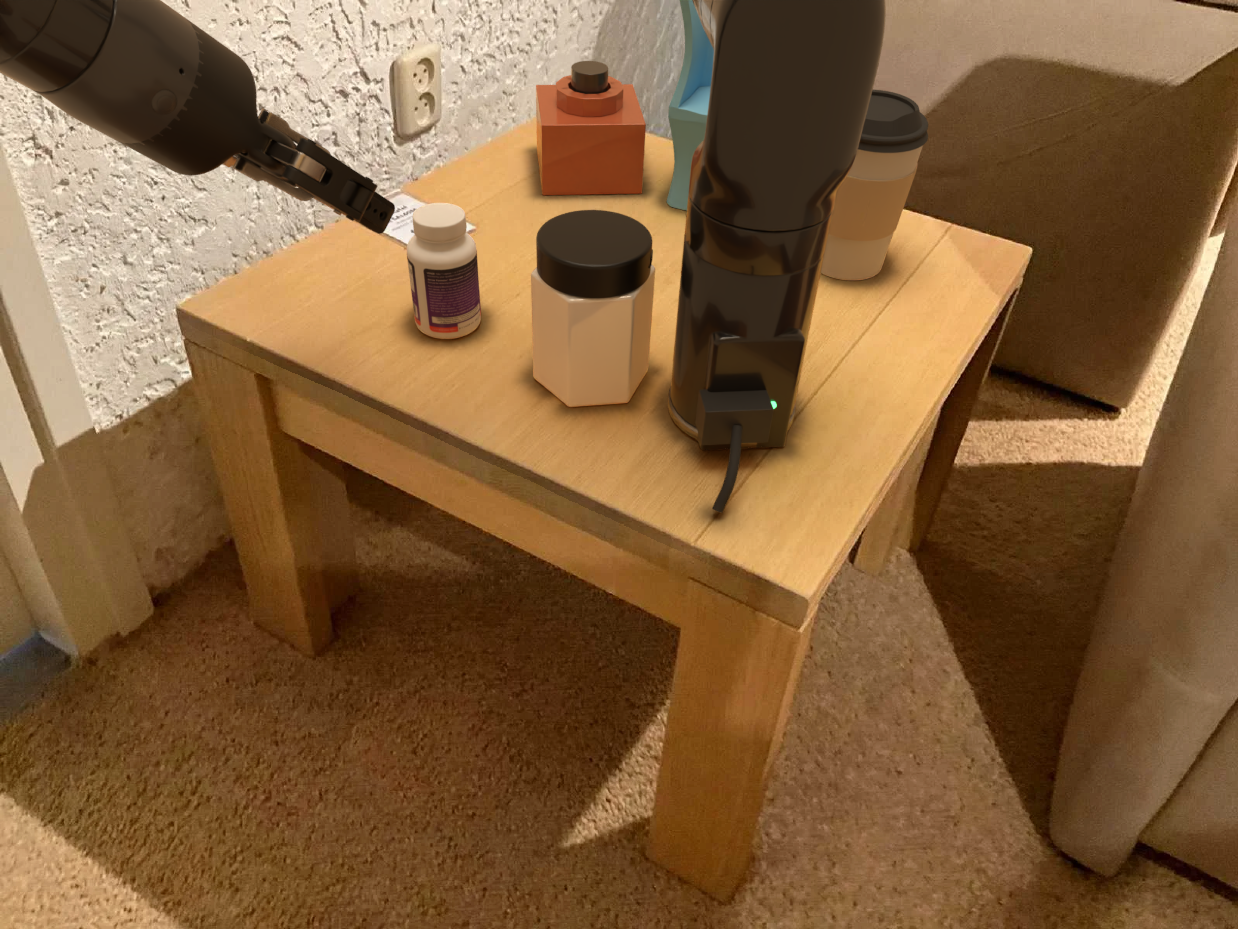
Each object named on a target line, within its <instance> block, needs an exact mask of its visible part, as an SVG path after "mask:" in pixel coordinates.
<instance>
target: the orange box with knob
mask: <svg viewBox="0 0 1238 929" xmlns="http://www.w3.org/2000/svg"><path fill="white" fill-rule="evenodd" d="M639 102H640V101H639V99H638V96H637V93H636V90H635V87H634V84H632V83H630V84H628V83H627V84H624V83H622V81H620V80H618V79H616V78H614V77H613V76H610V75H608V91H607V92H604V93H599V94H583V93H578V92H575V91H573V90H571V74H569V75H566V76H565V75H564V76H562V77H561V78H560V79H558V80H557V81H556V82H555V84H536V85H535V106H536V108H535V112H536V113H535V114H536V115H535V117H536V118H535V119H536V120H535V122H536V124H535V125H536V155H537V161H538V162H537V164H538V169H539V170H538V171H539V178H540V186H541V193H542V196H572V195H573V196H576V195H577V196H578V195H627V194H629V195H631V194H632V195H634V194H637V195H638V194H642V193H643V182H644V165H645V164H644V163H645V147H646V146H645V145H646V130H647V123H646V121H645V118H644V115H643V111H642V108H641V105H640V103H639Z"/></svg>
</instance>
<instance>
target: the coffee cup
mask: <svg viewBox="0 0 1238 929" xmlns="http://www.w3.org/2000/svg"><path fill="white" fill-rule="evenodd" d="M928 129H929V121H928V120H927V118H926V116H925V115H924V114H923V113H922V112H921V111H920V107H919V104H918V103H917V102H916V101H914V100H913V99H912V98H910V97H907V95H906V96H905V95H903V94H900V93H898V92H893V91H888V90H883V89H873V90H872V94H871V98H870V102H869V106H868V110H867V114H866V118H865V122H864V126H863V130H862V134H861V138H860V143H859V147H858V150H857V154H856V157H855V160H854V163H853V165H852V168H851V170H850V172H849V173H848V175H847V177H846V178H845V180H844V181H843V183H842V184H841V185H840V187H839V189H838V192H837V196H836V201H835V206H834V209H833V215H832V220H831V225H830V230H829V235H828V240H827V245H826V250H825V254H824V259H823V264H822V269H821V275H824V276H827V277H830V278H833V279H837V280H843V281H863V280H867V279H871V278H873V277H875V276H877V275H878V274H879V273H881V271H882V268H883V265H884V263H885V259H886V256H887V254H888V251H889V248H890V245H891V242H892V240H893V236H894V234H895V231H897V228H898V225H899V223H900V219H901V217H902V215H903V214H902V213H903V210H904V208H905V204H906V202H907V200H908V196H909V194H910V191H911V187H912V185H913V181H914V179H915V177H916V173H917V170H918V167H919V163H918V161H919V159H920V156H921V152H922V149H923V147H924V145H925V144H927V142H928V140H929V133H928Z"/></svg>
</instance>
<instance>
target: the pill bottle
mask: <svg viewBox="0 0 1238 929" xmlns="http://www.w3.org/2000/svg"><path fill="white" fill-rule="evenodd" d="M466 217H467V216H466V212H465V210H464V209H463V208H462V207H461V206H459V205H457V204H453V203H449V202H431V203H427V204H424V205H422V206H419V207H417V208H416V209H415V210H414V211H413V212H412V226H413V227H412V228H413V234H414V235H413V236H412V237H410V239H409V240H408V243H407V244H406V260H407V267H408V276H409V285H410V294H411V300H412V307H413V317H414V322H415V325H416V328H417V329H418V330H419V331H420V332H421V333H423V334H424V335H426V336H427V337H431V338H435V339H441V340H452V339H458V338H462V337H465V336H468V335H470V334H471V333H473V332H474V331H475V330H476V329H477V328H478V327H479V326H480V324H481V320H482V305H481V293H480V279H479V266H478V264H479V263H478V248H477V244H476V241H475V240H474V238H473V236H471V235H470V234H469V233H468V232H467V228H468V227H467V218H466Z"/></svg>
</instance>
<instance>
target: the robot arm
mask: <svg viewBox="0 0 1238 929" xmlns="http://www.w3.org/2000/svg"><path fill="white" fill-rule="evenodd" d="M692 1H693V3H694V6H695V8H696V11H697V13H698V16H699V18H700V21H701V24H702V26H703V29H704V31H705V33H706V35H707V37H708V39H709V41H710V44H711V46H712V48H713V50H714V57H713V69H712V79H711V88H710V97H709V106H708V114H707V122H706V131H705V137H704V140H703V141H702V142H701V143H700V144H699V145H698V147H697V148H696V150H695V152H694V154H693V157H692V163H691V172H690V183H689V194H688V204H687V211H686V217H685V228H684V235H683V236H684V237H683V245H682V246H683V247H682V258H681V268H680V269H681V270H680V279H679V290H678V291H679V292H678V300H677V301H678V302H677V311H676V312H677V313H676V323H675V332H674V344H673V356H672V369H671V370H672V372H671V380H670V381H671V382H670V387H669V389H668V398H667V408H668V413H669V416H670V419H672V421H673V422H674V424H675V425H676V426H677V427H678V428H679V429H680V430H681V431H682V432H683V433H684V434H686V435H687V436H689V437H691V438H692V439H694V440H696V441H697V443H698V447H699V449H700V450H702V451H720V450H721V451H722V450H724V451H725V450H729V453H728V454H729V455H728V463H727V468H726V472H725V475H724V476H725V477H724V479H723V482H722V485H721V487H720V490H719V491H718V495H717V497H716V499H715V501H714V503H713V505H712V508H711V509H712V510H713V511H715V512H717V513H721V514H723V512H724V511H725V508H726V506H727V504H728V502H729V499H730V497H731V495H732V493H733V490H734V488H735V485H736V481H737V478H738V473H739V469H740V464H741V463H740V462H741V453H742V452H741V451H742V450H748V449H764V448H765V449H766V448H782V447H785V445H786V440H787V436H788V432H789V430H790V429H791V427H792V425H793V422H794V418H795V414H796V406H797V405H796V404H797V403H796V401H797V396H798V391H799V385H800V382H801V381H800V380H801V376H802V371H803V370H802V369H803V365H804V360H805V355H806V351H807V350H806V349H807V344H808V338H809V335H810V329H811V325H812V324H811V323H812V319H813V315H814V314H813V313H814V309H815V304H816V299H817V294H818V288H819V284H820V279H821V275H822V273H821V269H822V264H823V259H824V254H825V250H826V245H827V240H828V235H829V230H830V225H831V220H832V215H833V209H834V206H835V201H836V196H837V192H838V189H839V187H840V185H841V184H842V183H843V181H844V180H845V178H846V177H847V175H848V173H849V172H850V170H851V168H852V165H853V163H854V160H855V157H856V154H857V150H858V147H859V143H860V138H861V134H862V130H863V126H864V122H865V118H866V114H867V110H868V106H869V102H870V98H871V94H872V90H874V85H875V82H876V77H877V73H878V69H879V66H880V65H879V64H880V59H881V54H882V51H883V50H882V49H883V44H884V36H885V31H886V30H885V29H886V18H887V16H886V15H887V14H886V13H887V10H886V9H887V4H886V0H692ZM0 74H2V75H3V76H6V77H7V78H9V79H11V80H12V81H15V82H17V83H19V84H20V85H22V86H24V87H26V88H27V89H30V90H31V91H33V92H34V93H36V94H38V95H39V96H41V97H43V98H44V99H46V100H47V101H49V102H50V103H51V104H53V105H55V106H56V107H57V109H59V110H61V111H62V112H64V113H65V114H67V115H68V116H70V117H71V118H73V119H74V120H77V121H78V122H80V123H82V124H84V125H86V126H88V127H89V128H92V129H93V130H95V131H97V132H99V133H100V134H103V135H104V136H106V137H108V138H110V139H112V140H114V141H116V142H117V143H120V144H122V145H123V146H125V147H127V148H129V149H131V150H132V151H135V152H137V153H138V154H140V155H142V156H144V157H146V158H148V159H150V160H152V161H153V162H156V163H157V164H159V165H161V166H163V167H165V168H167V169H168V170H170V171H172V172H174V173H177V174H179V175H183V176H200V175H204V174H207V173H210V172H212V171H214V170H215V169H217V168H220V166H222V165H223V166H225V167H227V168H231V167H232V169H233V170H235V171H237V172H238V173H240V174H242V175H244V176H246V177H248V178H250V179H251V180H253V181H254V182H255V181H256V182H266V183H267V184H269V185H271V186H272V187H274V188H276V189H278V190H280V191H282V192H284V193H285V194H287V195H290V196H291V197H293V198H295V199H297V200H299V201H300V202H309V201H311V200H312V199H314V200H316V201H317V202H319V203H321V204H323V205H325V206H326V207H328V208H329V209H332V210H333V211H332V212H333V213H335V214H336V215H338V216H342V215H343V216H345V218H346V219H348V220H350V221H352V222H356V223H358V224H360V225H361V226H363V227H365V228H367V229H368V230H370V231H372V232H374V233H376V234H378V235H381V234H383V233H385V231H386V229H387V227H388V226H389V223H390V222H391V219H392V217H393V216H394V214H395V210H396V206H395V204H394V203H393V202H392V201H390V200H389V199H388V198H386V197H384V196H383V195H381V194H380V193H378V192H377V191H376V190H377V188H378V185H377V183H375V182H374V179H372V178H370V177H368V176H364V175H362V174H361V173H360V172H357V170H355V169H354V168H351V167H350V166H349V165H347V164H345V163H344V162H342V161H341V160H339V159H338V158H336V157H335V156H334V155H332V154H331V152H330V151H329V149H327V148H325V147H323V145H320V144H318V143H317V142H315V141H314V140H312V139H311V138H308V137H306V136H304V135H303V134H301V133H299V132H298V131H296V130H294V129H292V128H291V127H290V124H289V123H288V122H287V120H286V119H284V118H282V117H280V116H279V115H278V114H276V113H273V112H272V111H270V110H268V109H266V108H261V110H260V112H259V111H258V107H257V106H258V105H257V97H258V95H257V94H258V93H257V85H256V81H255V78H254V75H253V72H252V70H251V68H250V67H249V65H248V64H247V62H246V61H245V60H244V58H242V57H241V56H240V55H238V54H237V53H236V52H234V51H233V50H231V49H230V48H228V47H227V46H226V45H224V44H223V43H221V42H220V41H219V40H217V39H216V38H214V37H213V36H212V35H210V34H209V33H208V32H206V31H205V30H203V29H202V28H201V27H199V26H198V25H197V24H195V23H194V22H192V21H191V20H190V19H188V18H186V17H185V16H184V15H182V14H181V13H180V12H178V11H177V10H175V9H174V8H172V7H171V6H170V5H168V4H167V3H165V2H164V1H163V0H0ZM258 112H259V114H258Z"/></svg>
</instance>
